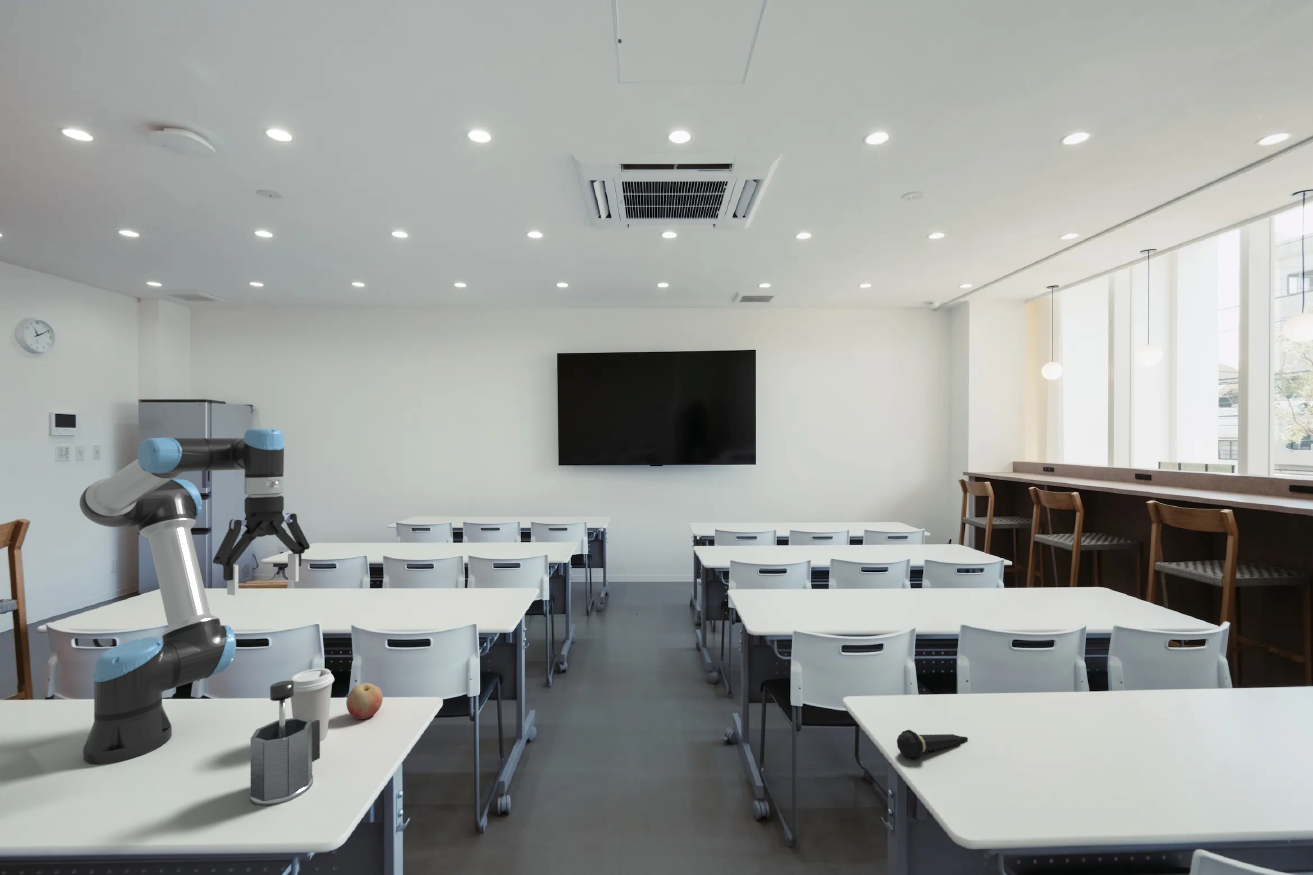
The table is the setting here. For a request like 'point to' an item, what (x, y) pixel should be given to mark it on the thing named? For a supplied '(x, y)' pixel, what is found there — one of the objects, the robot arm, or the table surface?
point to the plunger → (281, 700)
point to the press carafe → (283, 760)
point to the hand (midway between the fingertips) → (264, 587)
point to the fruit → (364, 700)
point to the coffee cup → (313, 697)
